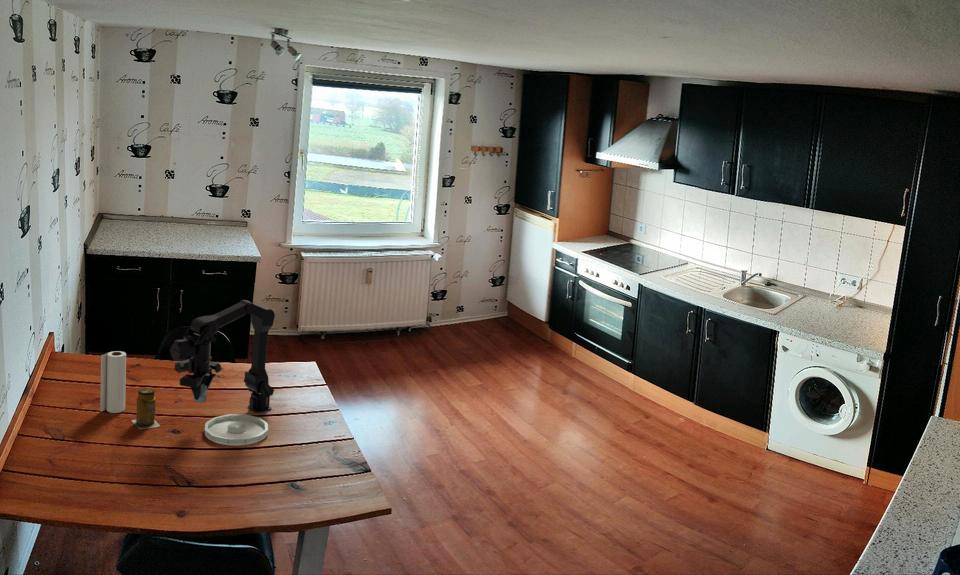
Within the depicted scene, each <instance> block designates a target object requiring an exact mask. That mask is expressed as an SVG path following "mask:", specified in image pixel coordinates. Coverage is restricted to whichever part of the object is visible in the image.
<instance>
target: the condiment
mask: <svg viewBox="0 0 960 575" xmlns="http://www.w3.org/2000/svg"><path fill="white" fill-rule="evenodd" d="M155 391H156V390H154V388H150V387H143V388H141V389H138V392H137V397H136V415H135V416H136V418H135V419H131V422H132V423H133V424H134V426H135V427H136V429H138V430H146V429H154V428H158V427H161V424H159V423H158V421H157V420H155V419H156V403H157V402H156V401H157V400H156V397H155Z"/></svg>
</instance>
